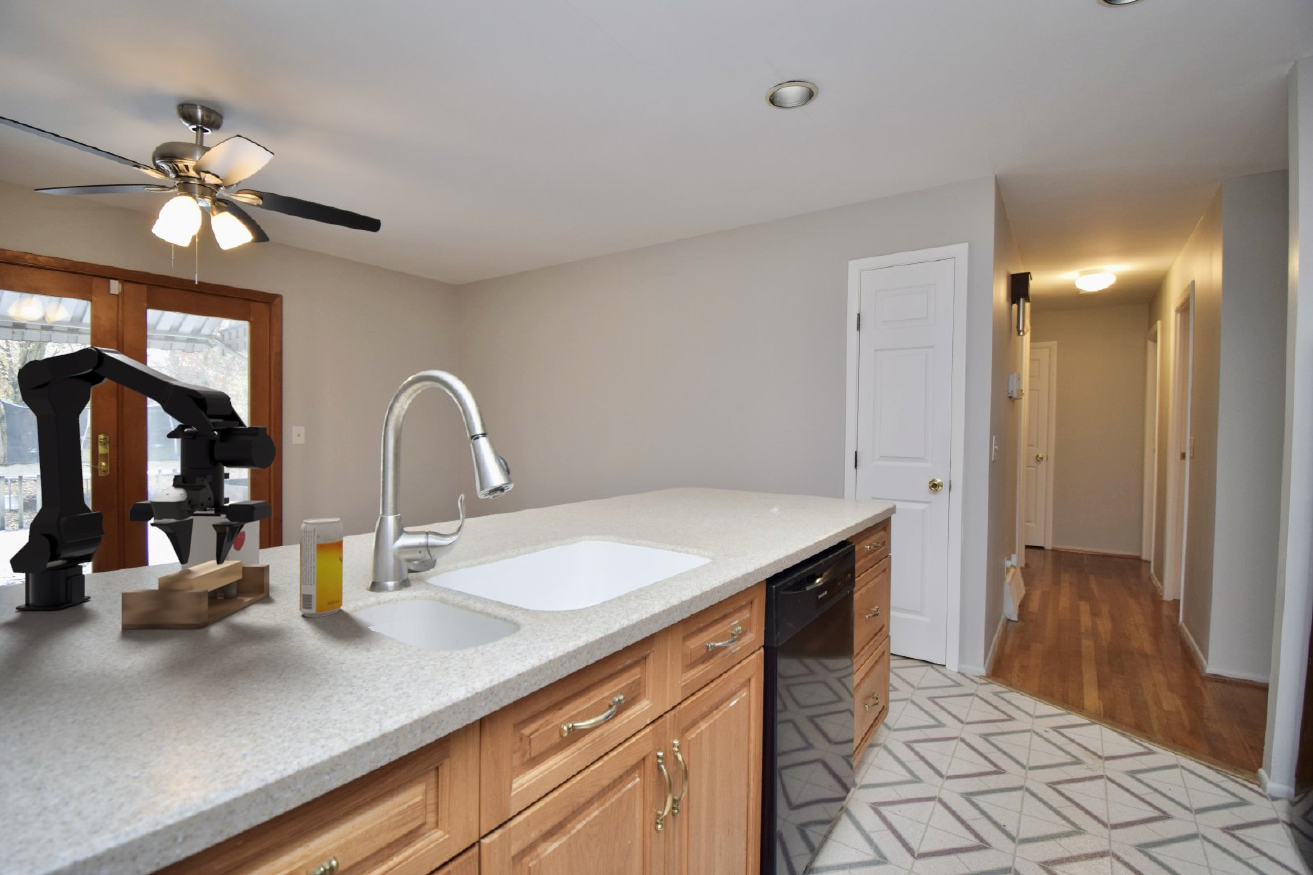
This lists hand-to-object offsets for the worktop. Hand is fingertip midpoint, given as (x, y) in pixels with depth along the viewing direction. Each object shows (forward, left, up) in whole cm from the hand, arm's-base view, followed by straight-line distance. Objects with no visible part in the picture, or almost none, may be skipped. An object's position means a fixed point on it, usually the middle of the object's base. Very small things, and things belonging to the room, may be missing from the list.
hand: (202, 564), depth 99 cm
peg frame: (0, 0, -8) cm, 8 cm away
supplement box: (-8, +18, -8) cm, 21 cm away
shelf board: (0, 0, -4) cm, 4 cm away
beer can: (+19, -1, -8) cm, 21 cm away
